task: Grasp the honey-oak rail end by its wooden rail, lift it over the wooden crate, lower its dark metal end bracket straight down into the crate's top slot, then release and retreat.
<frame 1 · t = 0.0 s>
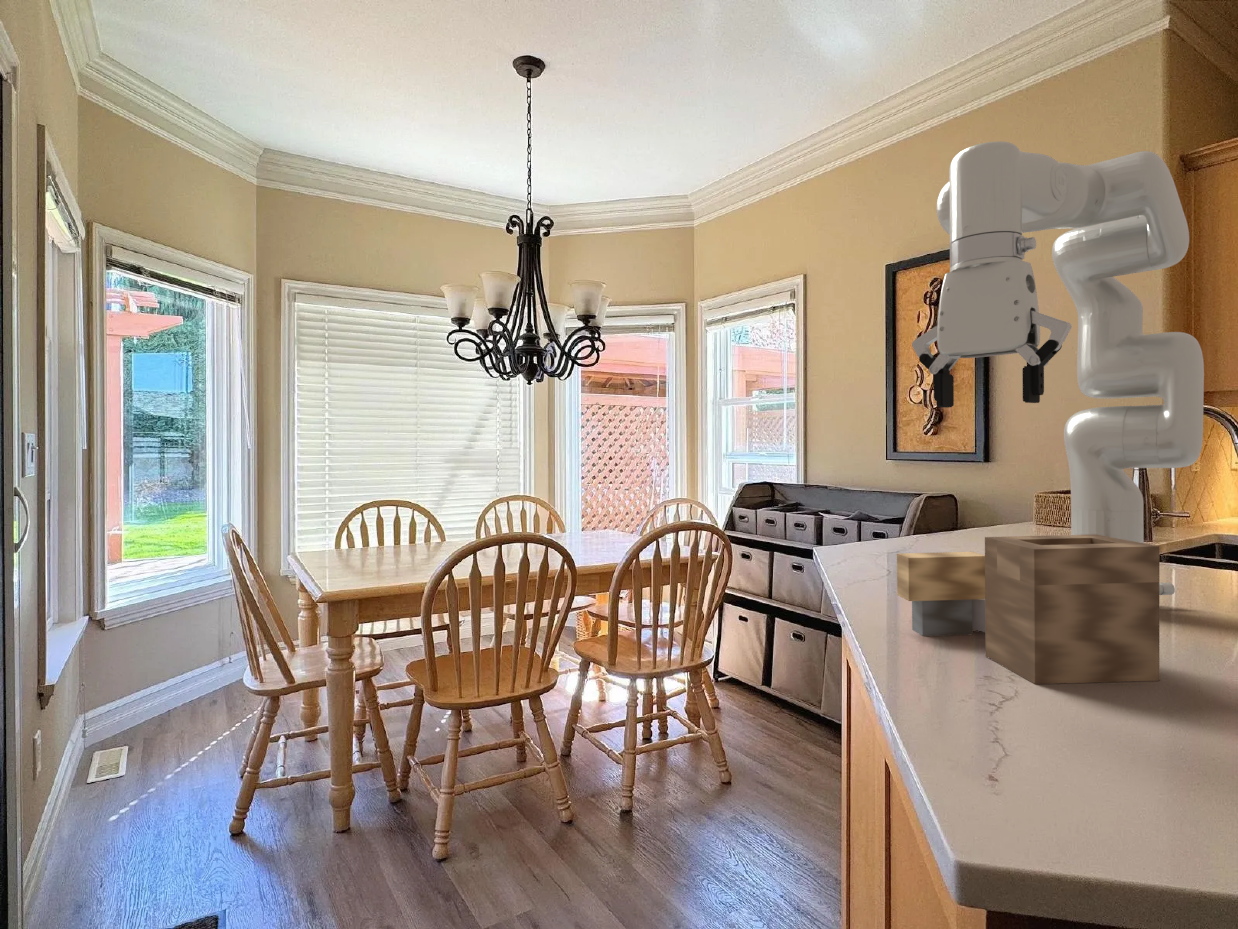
hand: (986, 404, 84), 31 cm above the countertop, tool pointing down, fingers open, 9 cm apart
rail end: (941, 632, 102), on the countertop
wooden crate: (1067, 667, 86), on the countertop
charger: (1010, 626, 106), on the countertop
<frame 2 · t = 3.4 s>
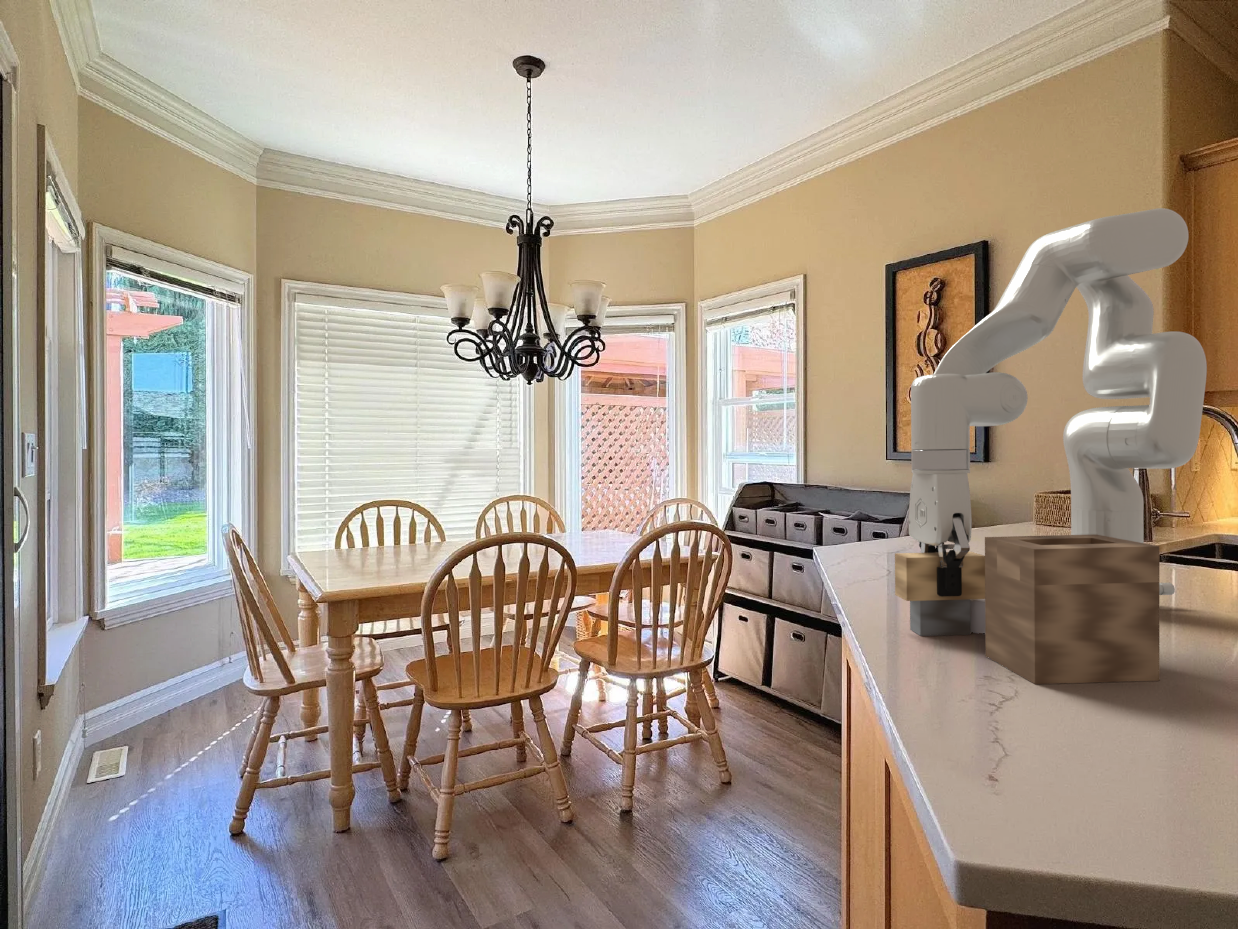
hand: (941, 591, 102), 6 cm above the countertop, tool pointing down, fingers closed on rail end, 4 cm apart
rail end: (939, 632, 102), on the countertop, touching gripper
charger: (1012, 627, 105), on the countertop
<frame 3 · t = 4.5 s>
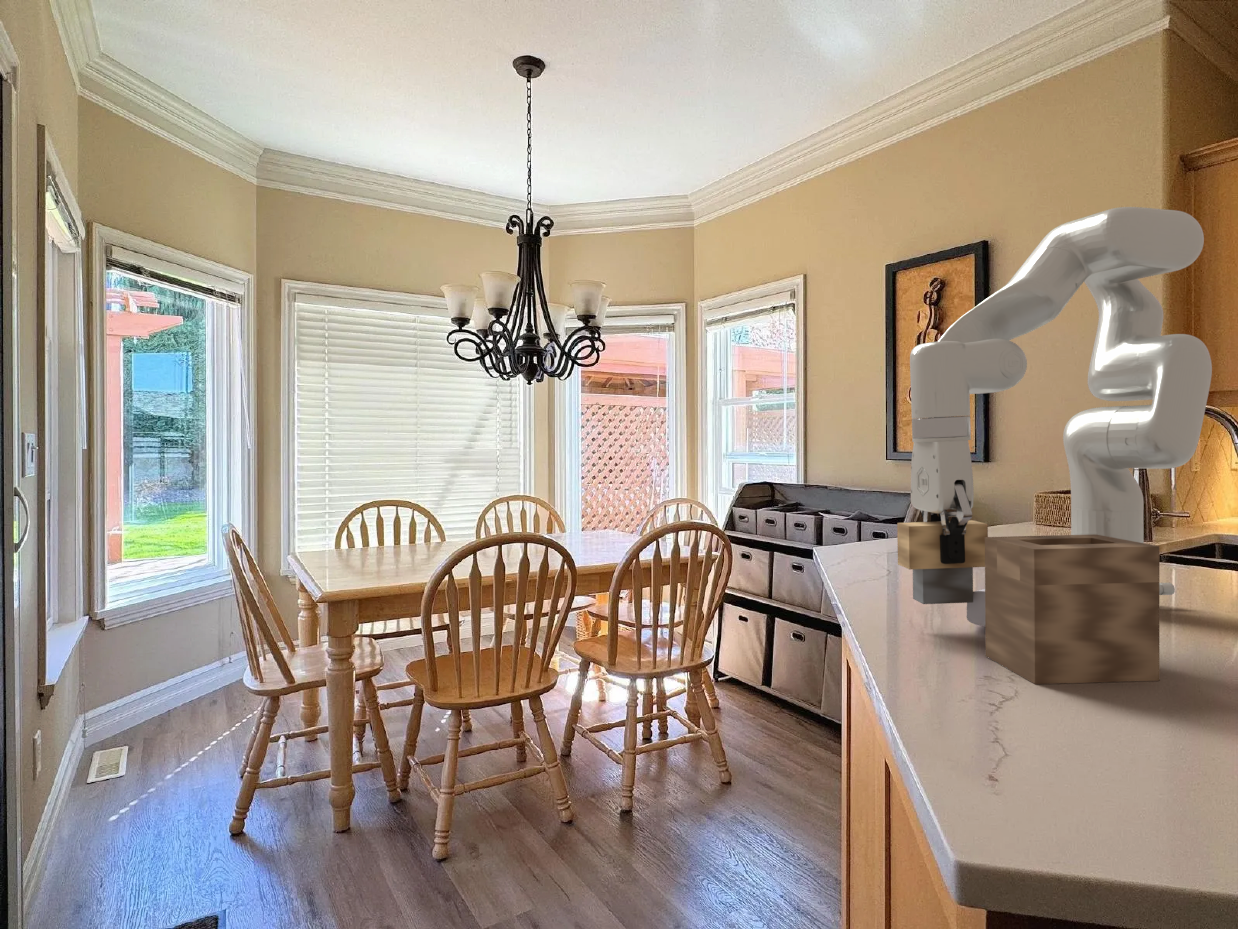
hand: (944, 558, 102), 10 cm above the countertop, tool pointing down, fingers closed on rail end, 4 cm apart
rail end: (942, 600, 103), point 4 cm above the countertop, touching gripper
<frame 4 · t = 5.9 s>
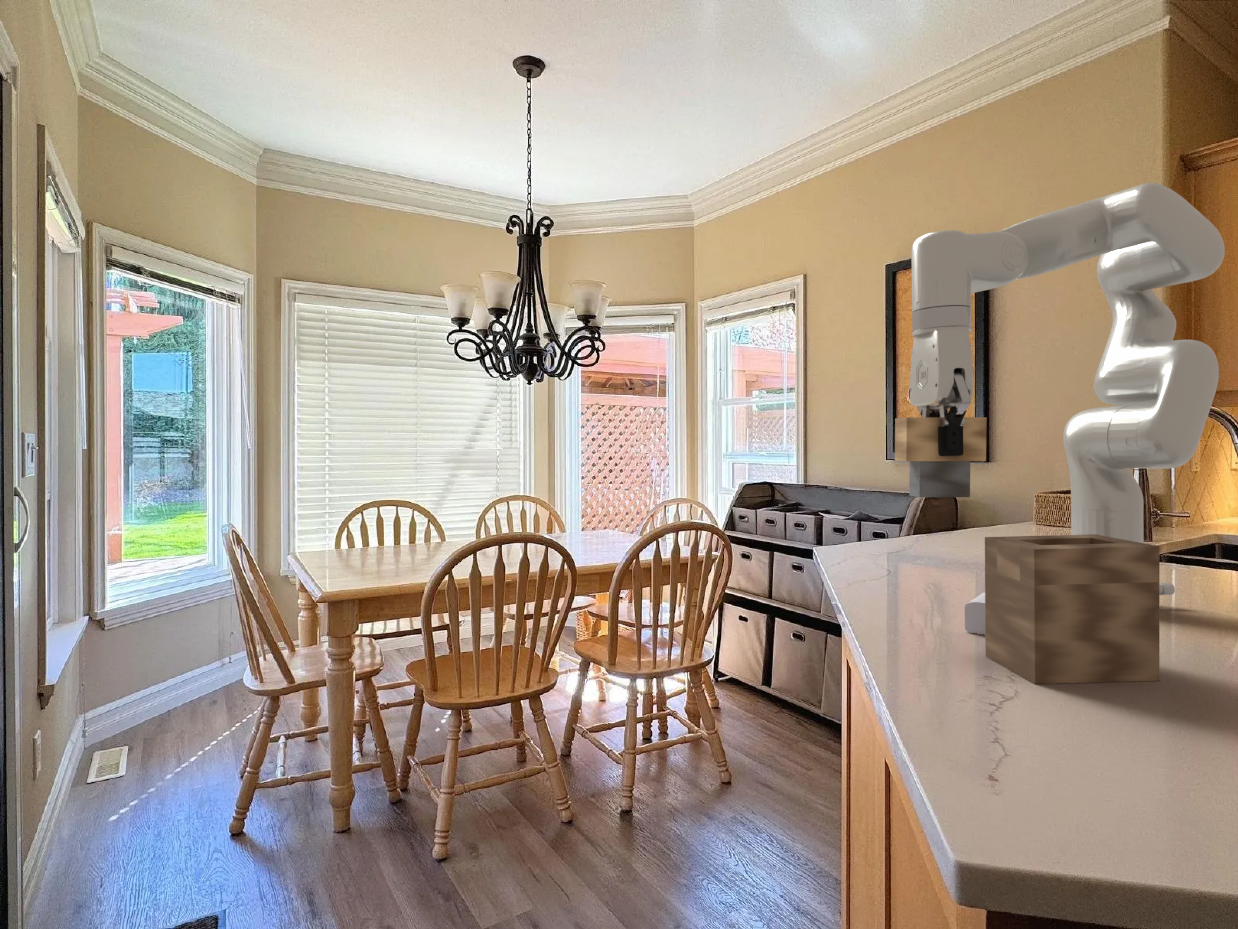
hand: (942, 454, 101), 25 cm above the countertop, tool pointing down, fingers closed on rail end, 4 cm apart
rail end: (939, 496, 102), point 19 cm above the countertop, touching gripper
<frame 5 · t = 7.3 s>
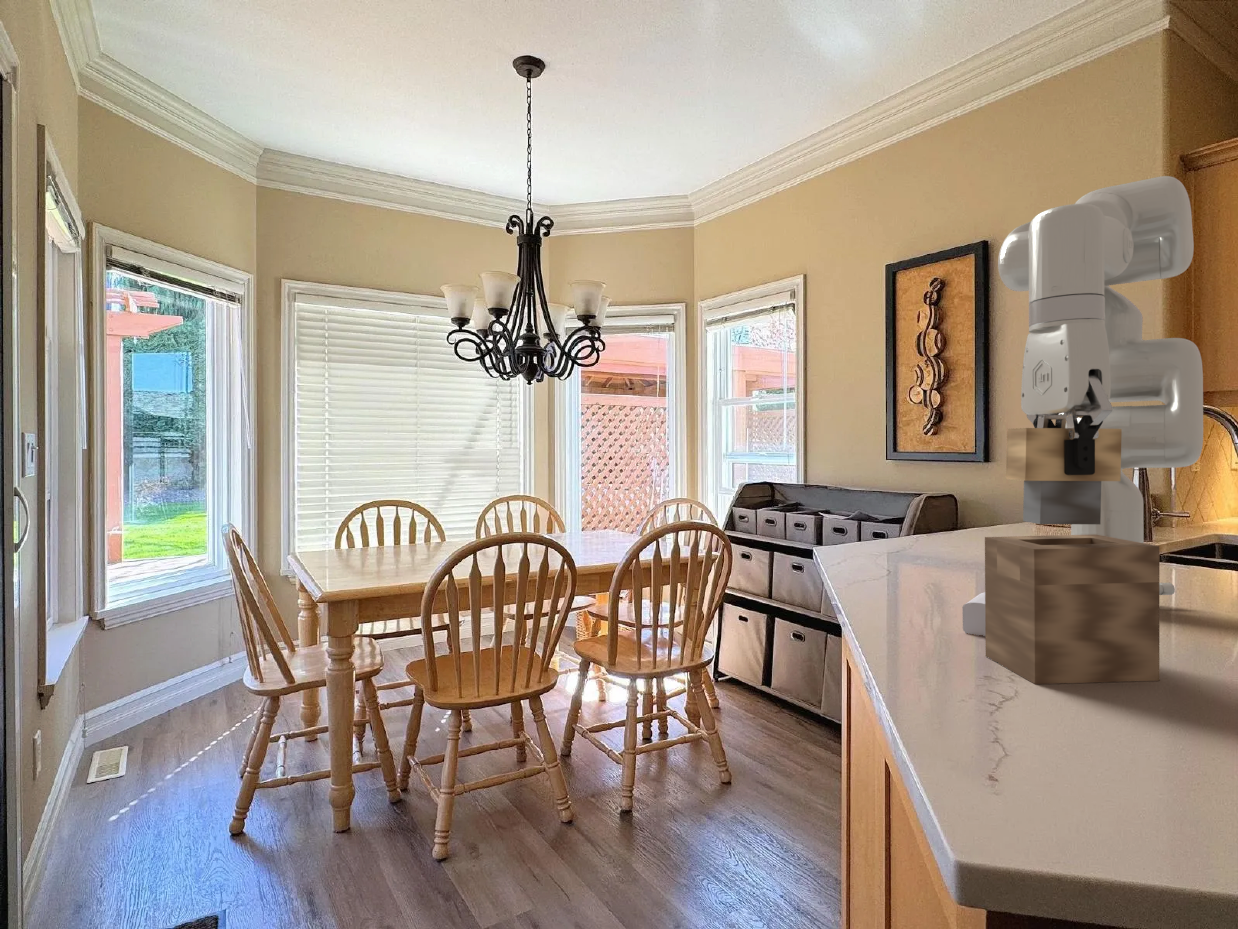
hand: (1066, 472, 85), 23 cm above the countertop, tool pointing down, fingers closed on rail end, 4 cm apart
rail end: (1061, 522, 85), point 17 cm above the countertop, touching gripper
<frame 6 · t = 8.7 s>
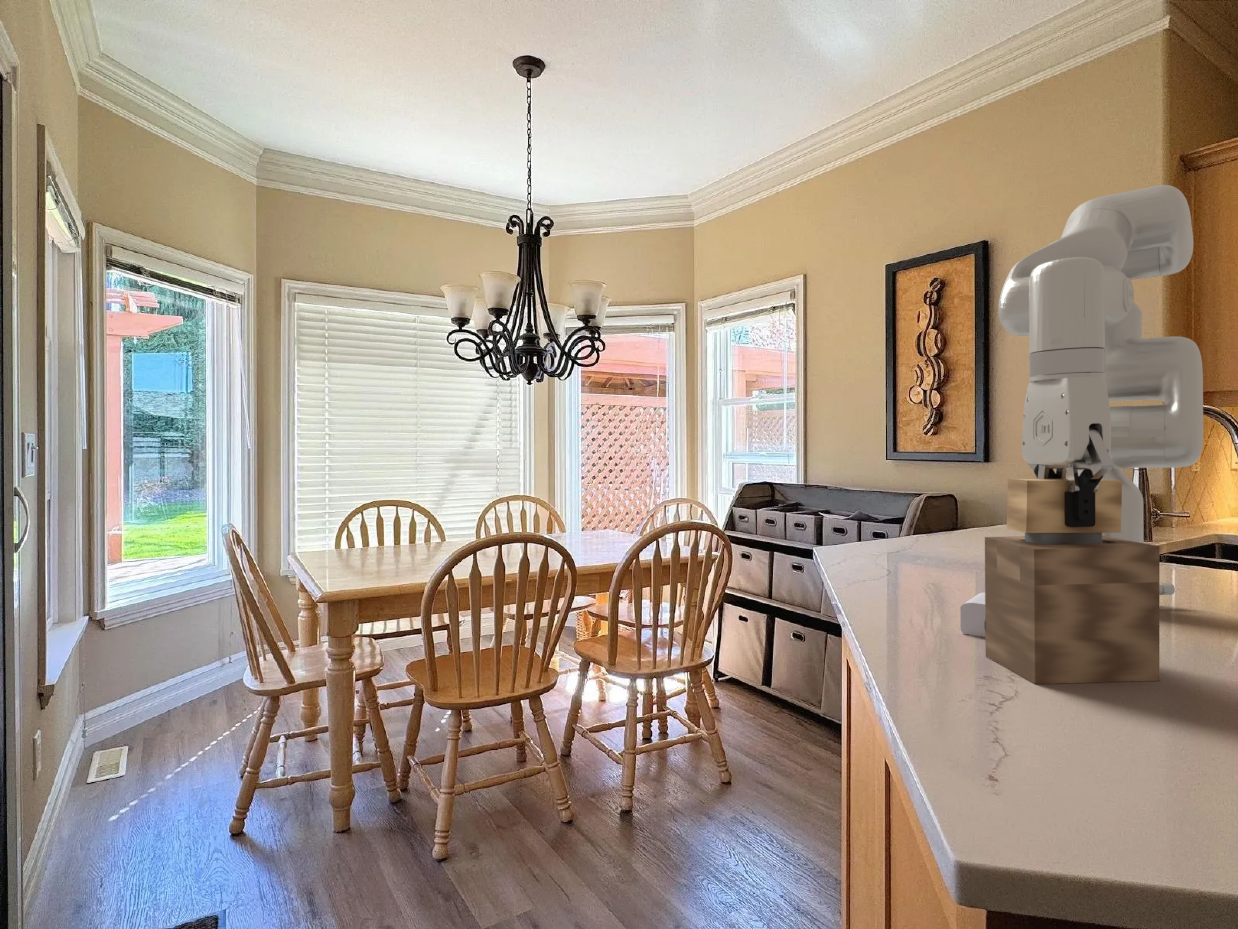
hand: (1066, 522, 85), 17 cm above the countertop, tool pointing down, fingers closed on rail end, 3 cm apart
rail end: (1061, 572, 85), point 11 cm above the countertop, touching gripper
when the fingers open (17 cm above the countertop, at t = 8.9 s): rail end stays where it is, resting on wooden crate.
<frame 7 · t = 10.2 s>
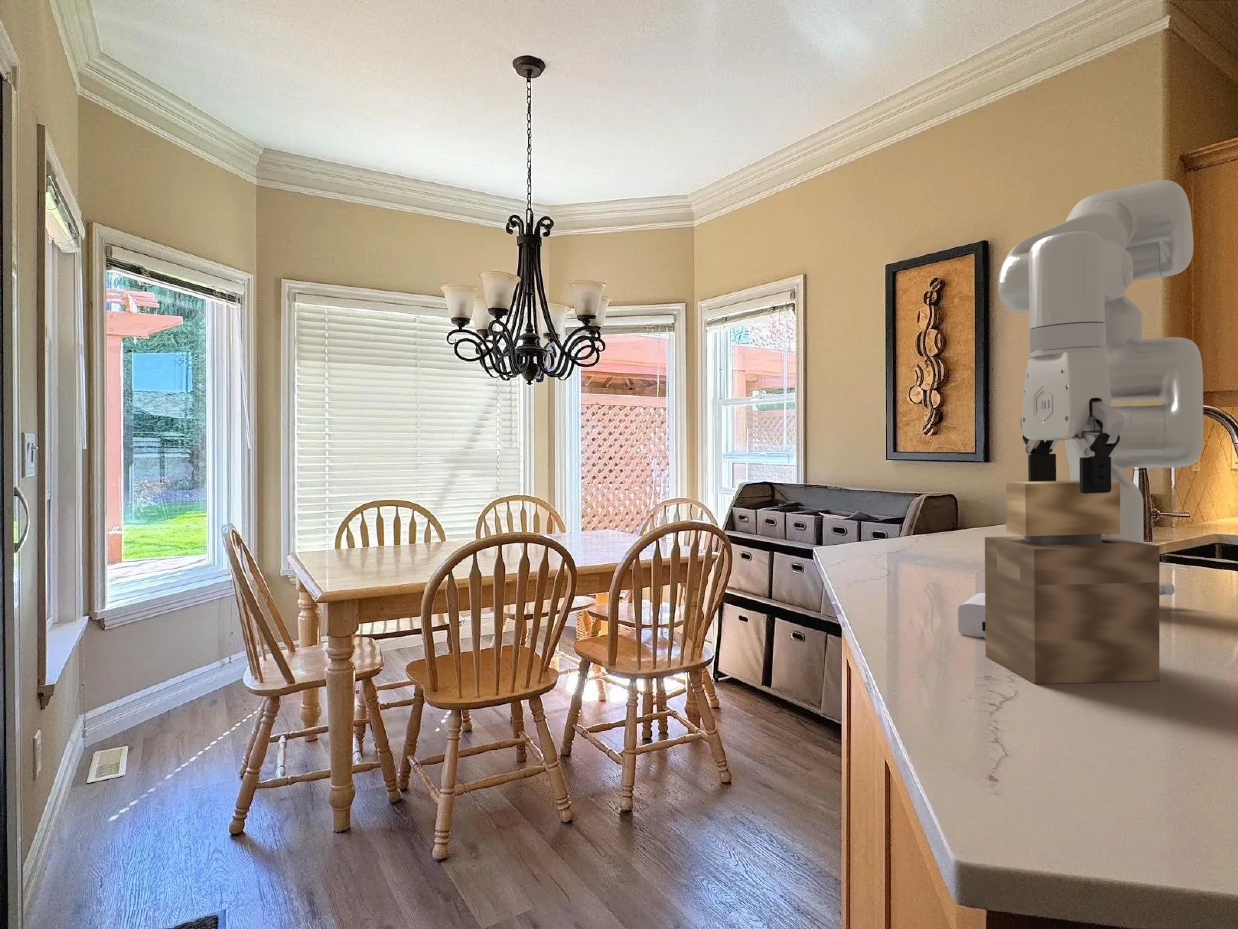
hand: (1067, 489, 85), 21 cm above the countertop, tool pointing down, fingers open, 9 cm apart
rail end: (1062, 575, 85), point 11 cm above the countertop, touching wooden crate
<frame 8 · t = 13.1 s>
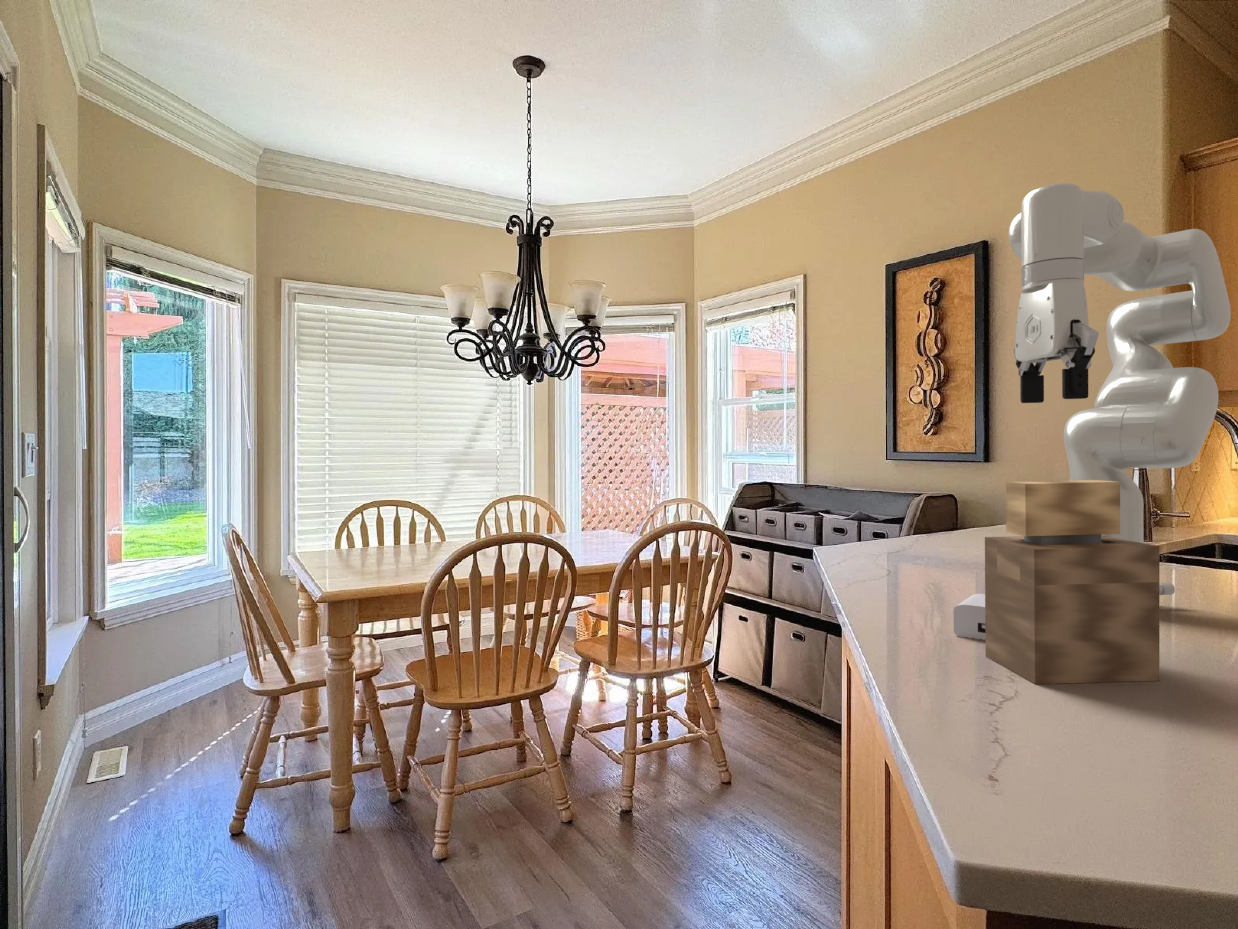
hand: (1052, 400, 102), 32 cm above the countertop, tool pointing down, fingers open, 9 cm apart
charger: (1002, 632, 103), on the countertop
everything else where it was.
at the end: rail end 0.5 cm off-centre on the wooden crate, point 11.0 cm above the wooden crate's base; rail end tilted 0°; the gripper is holding nothing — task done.
